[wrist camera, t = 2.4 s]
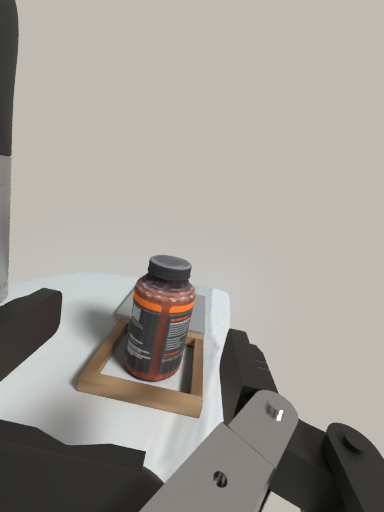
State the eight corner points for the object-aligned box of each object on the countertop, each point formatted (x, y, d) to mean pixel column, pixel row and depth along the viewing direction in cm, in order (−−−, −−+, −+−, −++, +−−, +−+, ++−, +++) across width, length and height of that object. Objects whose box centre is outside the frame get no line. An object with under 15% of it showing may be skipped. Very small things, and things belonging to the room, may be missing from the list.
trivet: (114, 318, 31) (115, 312, 31) (139, 285, 43) (140, 281, 43) (203, 338, 31) (204, 333, 31) (204, 300, 43) (205, 296, 43)
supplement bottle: (186, 356, 27) (209, 263, 24) (165, 394, 21) (192, 278, 19) (140, 338, 28) (157, 248, 26) (110, 368, 23) (126, 258, 20)
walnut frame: (76, 390, 20) (77, 378, 19) (120, 325, 30) (121, 316, 30) (199, 418, 20) (202, 406, 19) (201, 343, 30) (203, 335, 30)
